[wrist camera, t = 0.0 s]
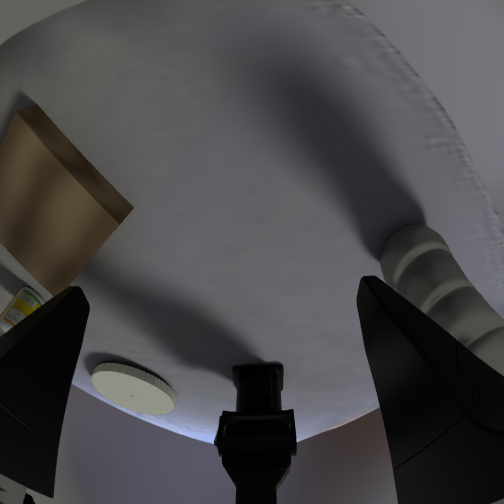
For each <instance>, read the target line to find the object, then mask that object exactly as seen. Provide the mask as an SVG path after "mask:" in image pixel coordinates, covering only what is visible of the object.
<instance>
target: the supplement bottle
mask: <svg viewBox="0 0 504 504" xmlns="http://www.w3.org/2000/svg"><path fill="white" fill-rule="evenodd" d="M44 303H45V302H44V300H43V299H42V297H41V296H40V295H39V294H38V293H37V292H35V291H34V290H33V289H31V288H28V287H22V288H21V289H20V290H19V291H18V292H17V294H16V295H15V296H14V298H13V299H12V300H11V302H10V303H9V304H8V306H7V307H6V308H5V310H4V311H3V313H2V314H1V315H0V336H2V335H3V334H4V333H5V332H7V331H8V330H9V329H11V328H12V327H13V326H15V325H16V324H17V323H19V322H20V321H21V320H22V319H24V318H25V317H27V316H28V315H29V314H31V313H32V312H33V311H35V310H36V309H37V308H39V307H40V306H42V305H43V304H44Z"/></svg>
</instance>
